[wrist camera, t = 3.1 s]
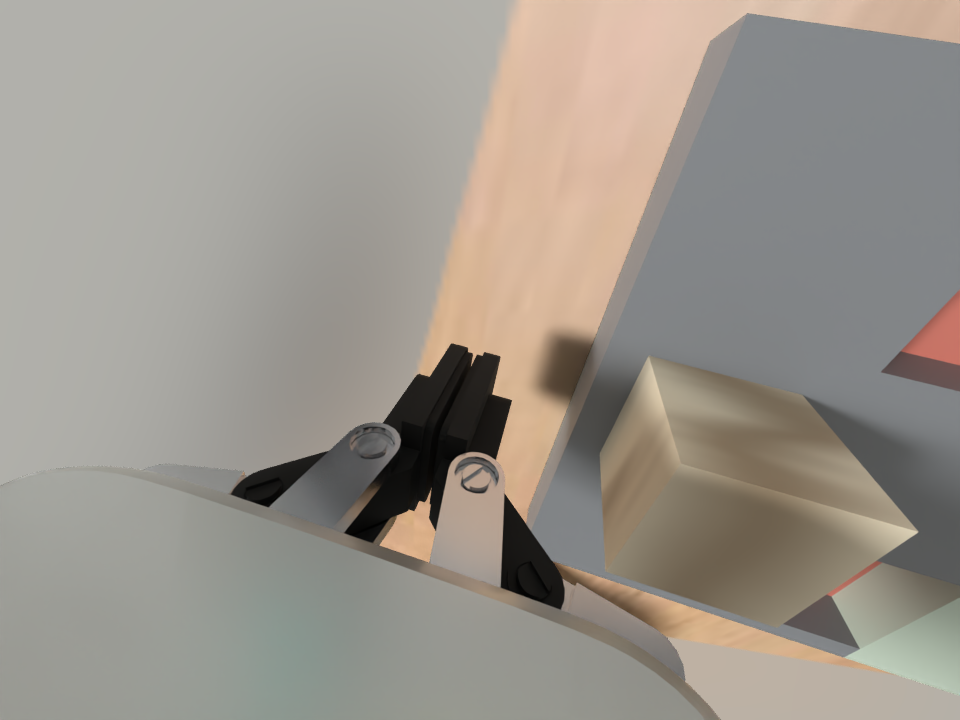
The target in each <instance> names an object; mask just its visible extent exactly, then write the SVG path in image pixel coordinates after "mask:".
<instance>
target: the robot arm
mask: <svg viewBox="0 0 960 720" xmlns="http://www.w3.org/2000/svg"><path fill="white" fill-rule="evenodd" d="M472 357H473V353H469V352H468V348H467V347H464V346H460V345H456V344H451V345H450V346H449V348H448V349H447V351H446V353H445V354H444V356H443V357H442V359H441V360H440V362H439V363H438V365H437V367H436V368H435V370H434V371H433V373H432V374H431V376H430V377H428V376H424V375H421V374H418V375H417V376H416V377H415V378H414V380H413V381H412V382H411V384H410V385H409V387H408V388H407V390H406V391H405V392H404V394H403V395H402V397H401V398H400V400H399V401H398V402H397V404H396V405H395V407H394V408H393V409H392V411H391V412H390V414H389V415H388V417H387V418H386V419H385V421H384V422H383V423H375V422H372V423H365V424H362V425H360V426H357V427H355V428H354V429H353V430H351V431H350V432H349V433H348V434H347V435H346V436H344V437H343V438H342V439H341V440H340V441H339V442H338V443H337V444H336V445H335V446H334V447H333V448H332V449H331V450H329V451H327V452H323V453H319V454H316V455H313V456H309V457H305V458H302V459H298V460H295V461H291V462H288V463H284V464H281V465H277V466H274V467H270V468H267V469H264V470H260V471H258V472H256V473H253V474H251V475H249V476H247V475H245V473H244V471H238V470H228V469H218V468H208V467H196V466H187V465H177V464H159V465H155V466H152V467H148V468H146V469H144V470H139V469H134V468H125V467H112V466H81V467H66V468H57V469H50V470H44V471H40V472H36V473H32V474H29V475H25V476H22V477H20V478H17V479H15V480H12V481H10V482H7V483H5V484H3V485H1V486H0V720H721V719H720V718H719V717H718V716H717V715H716V713H715V712H714V711H713V710H712V708H711V707H710V706H709V705H708V704H707V703H706V702H705V701H704V700H703V699H702V698H701V697H700V696H699V695H698V694H697V693H696V692H695V691H694V690H693V689H692V688H691V686H689V685H688V684H687V683H686V682H685V674H684V667H683V664H682V661H681V659H680V657H679V655H678V652H677V650H676V649H675V648H674V646H673V645H672V644H671V642H670V641H669V640H668V638H666V637H665V636H664V635H663V634H661V633H660V632H659V631H658V630H656V629H655V628H653V627H652V626H650V625H648V624H646V623H645V622H643V621H641V620H640V619H638V618H636V617H635V616H633V615H631V614H630V613H628V612H626V611H624V610H623V609H621V608H619V607H618V606H616V605H614V604H613V603H611V602H609V601H608V600H606V599H604V598H603V597H601V596H599V595H597V594H596V593H594V592H592V591H591V590H589V589H587V588H586V587H584V586H582V585H581V584H579V583H576V585H575V586H574V585H572V584H571V583H569V582H567V581H566V580H564V579H562V577H561V575H560V573H559V571H558V569H557V567H556V566H555V565H554V563H553V562H552V560H551V559H550V557H549V556H548V555H547V553H546V552H545V550H544V549H543V548H542V546H541V545H540V543H539V542H538V540H537V539H536V538H535V536H534V535H533V533H532V532H531V530H530V529H529V528H528V526H527V525H526V523H525V522H524V520H523V519H522V518H521V516H520V515H519V513H518V512H517V511H516V509H515V508H514V506H513V505H512V503H511V502H510V501H509V499H508V498H507V496H506V495H505V493H504V492H505V476H504V471H503V469H502V467H501V465H500V464H499V463H498V462H497V461H496V457H497V454H498V450H499V446H500V443H501V439H502V435H503V432H504V428H505V424H506V420H507V417H508V413H509V409H510V406H511V402H512V400H510V399H506V398H502V397H499V396H495V395H492V392H493V388H494V384H495V379H496V375H497V371H498V366H499V362H500V356H497V355H493V354H490V353H486V352H484V354H483V356H481V355H477V356H476V358H475V360H474V362H473V364H472V366H471V363H472ZM431 488H432V490H431ZM430 490H431V497H430V504H431V508H430V516H429V519H430V521H431V523H432V525H433V527H434V529H435V531H436V533H435V538H434V543H433V548H432V552H431V557H430V562H429V563H428V562H425V561H422V560H420V559H417V558H414V557H411V556H408V555H405V554H402V553H399V552H396V551H393V550H391V549H388V548H385V547H382V546H379V545H380V543H381V542H382V540H383V539H384V538H385V536H386V535H387V533H388V532H389V530H390V529H391V527H392V526H393V524H394V522H395V520H396V517H397V515H399V514H402V513H404V512H407V511H408V509H409V510H412V511H415V509H416V507H417V504H418V502H419V501H422V502H425V501H426V499H427V497H428V495H429V493H430Z"/></svg>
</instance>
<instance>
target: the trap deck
mask: <svg viewBox="0 0 960 720" xmlns="http://www.w3.org/2000/svg"><path fill="white" fill-rule="evenodd" d="M648 356H652V357H656V358H660V359H664V360H668V361H672V362H676V363H680V364H684V365H687V366H691V367H695V368H699V369H703V370H707V371H711V372H715V373H719V374H723V375H727V376H730V377H734V378H738V379H742V380H746V381H750V382H754V383H758V384H762V385H766V386H770V387H773V388H777V389H781V390H785V391H789V392H793V393H797V394H801V395H803V396H804V397H805V399H806V400H807V401H808V402H809V403H810V405H811V406H812V407H813V408H814V409H815V410H816V412H817V413H818V414H819V415H820V416H821V417H822V419H823V420H824V421H825V422H826V423H827V425H828V426H829V427H830V428H831V429H832V430H833V432H834V433H835V434H836V435H837V436H838V437H839V439H840V440H841V441H842V442H843V443H844V445H845V446H846V447H847V448H848V449H849V450H850V452H851V453H852V454H853V455H854V456H855V457H856V459H857V460H858V461H859V462H860V463H861V465H862V466H863V467H864V468H865V469H866V470H867V472H868V473H869V474H870V475H871V476H872V477H873V479H874V480H875V481H876V482H877V483H878V485H879V486H880V487H881V488H882V489H883V490H884V492H885V493H886V494H887V495H888V496H889V498H890V499H891V500H892V501H893V502H894V503H895V505H896V506H897V507H898V508H899V509H900V510H901V512H902V513H903V514H904V515H905V516H906V518H907V519H908V520H909V521H910V522H911V523H912V525H913V526H914V527H915V528H916V529H917V530H918V533H917V534H915V535H914V536H912V537H911V538H909V539H908V540H906V541H905V542H903V543H902V544H900V545H899V546H897V547H896V548H894V549H893V550H891V551H890V552H888V553H887V554H886V555H884V556H883V557H881V558H880V559H878V560H877V561H875V562H874V563H872V564H871V565H869V566H868V567H866V568H865V569H863V570H862V571H860V572H859V573H857V574H856V575H854V576H853V577H852V578H850V579H849V580H847V581H846V582H844V583H843V584H841V585H840V586H838V587H837V588H835V589H834V590H832V591H831V592H829V593H828V594H826V595H825V596H823V597H822V598H820V599H819V600H818V601H816V602H815V603H813V604H812V605H810V606H809V607H807V608H806V609H804V610H803V611H801V612H800V613H798V614H797V615H795V616H794V617H792V618H791V619H789V620H788V621H786V622H785V623H784V624H782V625H781V626H779V627H778V628H776V627H773V626H770V625H767V624H764V623H761V622H758V621H755V620H751V619H748V618H745V617H742V616H739V615H736V614H733V613H730V612H727V611H724V610H721V609H718V608H715V607H712V606H709V605H706V604H703V603H700V602H697V601H694V600H691V599H687V598H684V597H681V596H678V595H675V594H672V593H669V592H666V591H663V590H660V589H657V588H654V587H651V586H648V585H645V584H642V583H639V582H636V581H633V580H630V579H627V578H624V577H620V576H617V575H614V574H611V573H608V572H605V552H604V532H603V512H602V492H601V472H600V452H601V450H602V448H603V446H604V444H605V442H606V440H607V438H608V436H609V434H610V432H611V430H612V428H613V426H614V424H615V422H616V420H617V418H618V416H619V414H620V412H621V410H622V408H623V406H624V404H625V402H626V400H627V398H628V396H629V394H630V392H631V390H632V388H633V386H634V384H635V382H636V380H637V378H638V376H639V374H640V372H641V370H642V368H643V366H644V364H645V362H646V360H647V358H648ZM526 525H527V526H528V528H529V529H530V530H531V532H532V533H533V535H534V536H535V538H536V539H537V540H538V542H539V543H540V545H541V546H542V548H543V549H544V550H545V552H546V553H547V555H548V556H549V557H550V559H551V560H552V561H554V562H557V563H560V564H563V565H566V566H569V567H572V568H575V569H578V570H581V571H584V572H587V573H590V574H593V575H596V576H599V577H602V578H605V579H608V580H611V581H614V582H617V583H620V584H623V585H626V586H629V587H632V588H635V589H638V590H641V591H644V592H647V593H650V594H653V595H656V596H659V597H662V598H665V599H669V600H672V601H675V602H678V603H681V604H684V605H687V606H690V607H693V608H696V609H699V610H702V611H705V612H708V613H711V614H714V615H717V616H720V617H723V618H726V619H729V620H732V621H735V622H738V623H741V624H744V625H747V626H750V627H753V628H756V629H759V630H762V631H765V632H768V633H771V634H774V635H777V636H780V637H783V638H786V639H790V640H793V641H796V642H799V643H802V644H805V645H808V646H811V647H814V648H817V649H820V650H823V651H826V652H829V653H832V654H835V655H838V656H841V657H844V658H847V659H850V660H853V661H856V662H859V663H862V664H865V665H868V666H871V667H874V668H877V669H880V670H883V671H886V672H889V673H892V674H895V675H898V676H901V677H904V678H907V679H911V680H914V681H917V682H920V683H923V684H926V685H929V686H932V687H935V688H938V689H941V690H944V691H947V692H950V693H953V694H956V695H959V696H960V44H957V43H950V42H943V41H936V40H929V39H922V38H916V37H909V36H902V35H895V34H888V33H881V32H874V31H867V30H860V29H853V28H846V27H839V26H832V25H825V24H818V23H811V22H804V21H797V20H790V19H783V18H776V17H769V16H762V15H756V14H749V13H747V14H746V15H745V16H743V17H742V18H741V19H739V20H738V21H737V22H735V23H734V24H733V25H731V26H730V27H729V28H727V29H726V30H725V31H723V32H722V33H721V34H719V35H718V36H717V37H716V38H714V39H713V40H712V41H710V44H709V46H708V49H707V52H706V54H705V57H704V59H703V62H702V64H701V67H700V70H699V72H698V75H697V77H696V80H695V82H694V85H693V88H692V90H691V93H690V95H689V98H688V100H687V103H686V106H685V108H684V111H683V113H682V116H681V118H680V121H679V124H678V126H677V129H676V131H675V134H674V136H673V139H672V142H671V144H670V147H669V149H668V152H667V154H666V157H665V160H664V162H663V165H662V167H661V170H660V172H659V175H658V178H657V180H656V183H655V185H654V188H653V190H652V193H651V196H650V198H649V201H648V203H647V206H646V208H645V211H644V214H643V216H642V219H641V221H640V224H639V226H638V229H637V232H636V234H635V237H634V239H633V242H632V244H631V247H630V250H629V252H628V255H627V257H626V260H625V262H624V265H623V268H622V270H621V273H620V275H619V278H618V280H617V283H616V286H615V288H614V291H613V293H612V296H611V298H610V301H609V303H608V306H607V309H606V311H605V314H604V316H603V319H602V321H601V324H600V327H599V329H598V332H597V334H596V337H595V339H594V342H593V345H592V347H591V350H590V352H589V355H588V357H587V360H586V363H585V365H584V368H583V370H582V373H581V375H580V378H579V381H578V383H577V386H576V388H575V391H574V393H573V396H572V399H571V401H570V404H569V406H568V409H567V411H566V414H565V417H564V419H563V422H562V424H561V427H560V429H559V432H558V435H557V437H556V440H555V442H554V445H553V447H552V450H551V453H550V455H549V458H548V460H547V463H546V465H545V468H544V471H543V473H542V476H541V478H540V481H539V483H538V486H537V489H536V491H535V494H534V496H533V499H532V501H531V504H530V507H529V510H528V516H527V523H526Z"/></svg>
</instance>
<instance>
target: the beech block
mask: <svg viewBox="0 0 960 720" xmlns="http://www.w3.org/2000/svg"><path fill="white" fill-rule="evenodd" d="M600 472H601V492H602V512H603V532H604V552H605V572H608V573H611V574H614V575H617V576H620V577H624V578H627V579H630V580H633V581H636V582H639V583H642V584H645V585H648V586H651V587H654V588H657V589H660V590H663V591H666V592H669V593H672V594H675V595H678V596H681V597H684V598H687V599H691V600H694V601H697V602H700V603H703V604H706V605H709V606H712V607H715V608H718V609H721V610H724V611H727V612H730V613H733V614H736V615H739V616H742V617H745V618H748V619H751V620H755V621H758V622H761V623H764V624H767V625H770V626H773V627H776V628H778V627H779V626H781V625H782V624H784V623H785V622H786V621H788V620H789V619H791V618H792V617H794V616H795V615H797V614H798V613H800V612H801V611H803V610H804V609H806V608H807V607H809V606H810V605H812V604H813V603H815V602H816V601H818V600H819V599H820V598H822V597H823V596H825V595H826V594H828V593H829V592H831V591H832V590H834V589H835V588H837V587H838V586H840V585H841V584H843V583H844V582H846V581H847V580H849V579H850V578H852V577H853V576H854V575H856V574H857V573H859V572H860V571H862V570H863V569H865V568H866V567H868V566H869V565H871V564H872V563H874V562H875V561H877V560H878V559H880V558H881V557H883V556H884V555H886V554H887V553H888V552H890V551H891V550H893V549H894V548H896V547H897V546H899V545H900V544H902V543H903V542H905V541H906V540H908V539H909V538H911V537H912V536H914V535H915V534H917V533H918V530H917V529H916V528H915V527H914V526H913V525H912V523H911V522H910V521H909V520H908V519H907V518H906V516H905V515H904V514H903V513H902V512H901V510H900V509H899V508H898V507H897V506H896V505H895V503H894V502H893V501H892V500H891V499H890V498H889V496H888V495H887V494H886V493H885V492H884V490H883V489H882V488H881V487H880V486H879V485H878V483H877V482H876V481H875V480H874V479H873V477H872V476H871V475H870V474H869V473H868V472H867V470H866V469H865V468H864V467H863V466H862V465H861V463H860V462H859V461H858V460H857V459H856V457H855V456H854V455H853V454H852V453H851V452H850V450H849V449H848V448H847V447H846V446H845V445H844V443H843V442H842V441H841V440H840V439H839V437H838V436H837V435H836V434H835V433H834V432H833V430H832V429H831V428H830V427H829V426H828V425H827V423H826V422H825V421H824V420H823V419H822V417H821V416H820V415H819V414H818V413H817V412H816V410H815V409H814V408H813V407H812V406H811V405H810V403H809V402H808V401H807V400H806V399H805V397H804V396H803V395H801V394H797V393H793V392H789V391H785V390H781V389H777V388H773V387H770V386H766V385H762V384H758V383H754V382H750V381H746V380H742V379H738V378H734V377H730V376H727V375H723V374H719V373H715V372H711V371H707V370H703V369H699V368H695V367H691V366H687V365H684V364H680V363H676V362H672V361H668V360H664V359H660V358H656V357H652V356H648V358H647V360H646V362H645V364H644V366H643V368H642V370H641V372H640V374H639V376H638V378H637V380H636V382H635V384H634V386H633V388H632V390H631V392H630V394H629V396H628V398H627V400H626V402H625V404H624V406H623V408H622V410H621V412H620V414H619V416H618V418H617V420H616V422H615V424H614V426H613V428H612V430H611V432H610V434H609V436H608V438H607V440H606V442H605V444H604V446H603V448H602V450H601V452H600Z"/></svg>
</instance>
